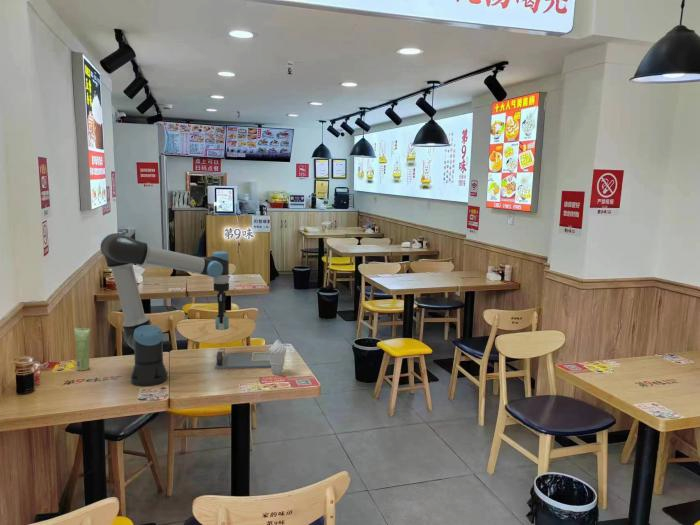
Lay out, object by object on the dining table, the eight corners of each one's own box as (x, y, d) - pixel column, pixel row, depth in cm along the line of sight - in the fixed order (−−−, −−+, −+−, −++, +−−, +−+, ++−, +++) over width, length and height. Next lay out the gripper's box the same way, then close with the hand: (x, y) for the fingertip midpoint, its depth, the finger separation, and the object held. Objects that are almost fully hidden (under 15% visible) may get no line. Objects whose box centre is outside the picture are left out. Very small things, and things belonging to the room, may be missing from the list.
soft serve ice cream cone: (284, 376, 237) (285, 343, 235) (266, 376, 237) (266, 342, 235) (287, 370, 245) (287, 338, 243) (269, 370, 245) (269, 337, 243)
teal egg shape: (215, 330, 257) (214, 319, 257) (216, 326, 264) (215, 316, 263) (228, 329, 259) (228, 318, 258) (228, 326, 265) (228, 315, 264)
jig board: (215, 369, 245) (215, 365, 244) (219, 355, 264) (219, 352, 264) (279, 367, 249) (279, 363, 249) (278, 354, 269) (278, 351, 268)
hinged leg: (222, 365, 246) (222, 353, 245) (216, 365, 245) (216, 353, 244) (224, 356, 260) (224, 344, 259) (218, 356, 259) (218, 344, 258)
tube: (89, 366, 244) (87, 326, 241) (92, 369, 240) (90, 328, 237) (75, 368, 240) (74, 327, 237) (78, 371, 236) (76, 330, 234)
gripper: (227, 286, 249) (228, 332, 252) (230, 279, 268) (230, 322, 271) (211, 286, 248) (212, 333, 251) (215, 279, 267) (215, 322, 270)
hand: (221, 327), depth 261 cm, fingers closed on teal egg shape, 6 cm apart
